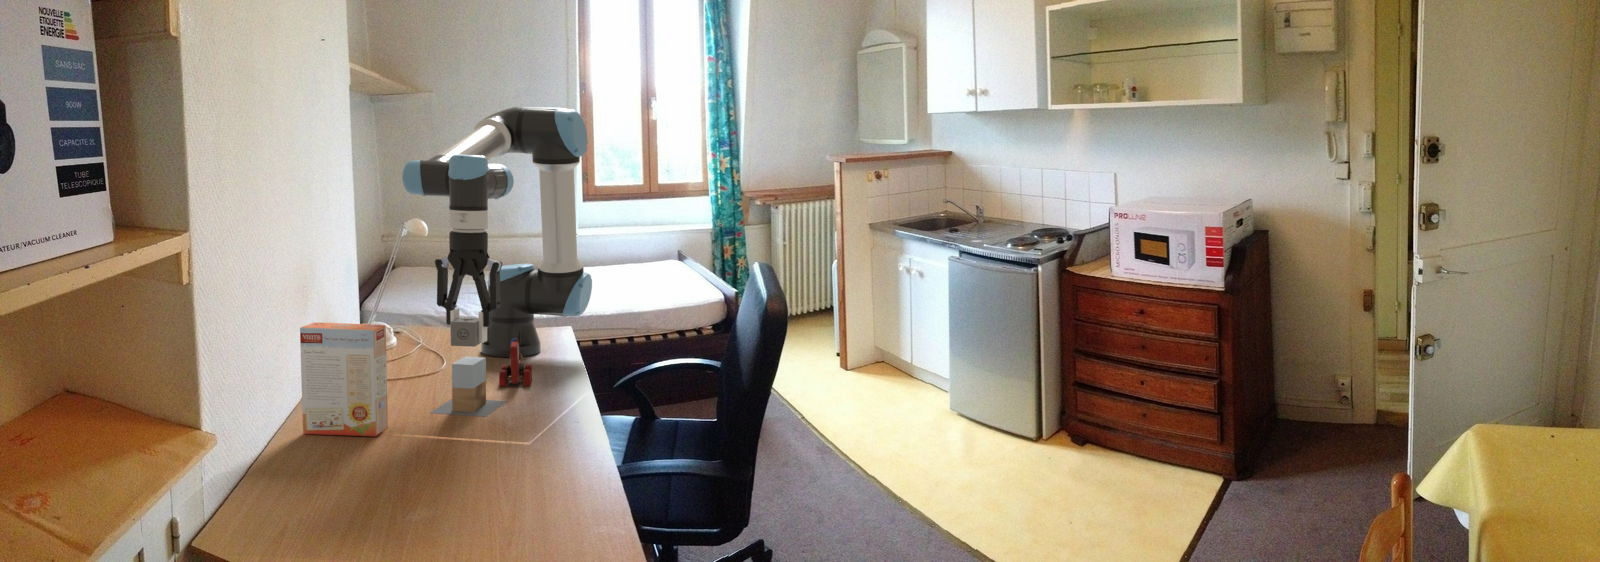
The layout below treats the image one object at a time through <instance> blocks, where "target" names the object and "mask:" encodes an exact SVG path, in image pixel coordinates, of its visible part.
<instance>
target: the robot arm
mask: <svg viewBox="0 0 1600 562" xmlns="http://www.w3.org/2000/svg"><path fill="white" fill-rule="evenodd" d="M587 150H588V131H587V127H586V122H585V121H584V119H583V117H582V116H581V114H580V113H579V112H578V111H577V110H575V109H569V108H563V107H545V106H544V107H541V106H540V107H538V106H537V107H536V106H535V107H534V106H532V107H531V106H512V107H510V108H506V109H502V110H500V111H497V112H495V113H493V114H489V116H486V117H485V118H483V119H482V120H480V121H478V122H477V123H476V125H475V126H474V128H473V130H472V131H471V132H469V133H467V134H466V135H465V136H463V137H461V138H460V139H459V140H457V141H455V142H454V143H453V144H450V145H449V146H448V147H446V148H444V149H443V150H442V151H439V152H438V153H437V154H435V155H433V156H432V157H431V158H429V159H427V160H424V159H416V160H415V159H414V160H413V159H411V160H409V161H407V162H406V164H405V165H404V167H403V170H402V175H401V176H402V184H403V186H404V189H405V190H406V192H408V194H410V195H415V196H416V195H417V196H423V197H444V198H445V197H447V198H449V201H448V202H449V206H448V207H449V209H448V210H449V211H448V213H449V215H448V217H449V218H448V219H449V221H448V222H449V224H448V225H449V226H448V227H449V228H450V229H451V231H450V232H449V237H448V238H449V239H448V240H449V241H448V242H449V243H448V244H449V252H448V255H447V257H440V258H436V259H435V260H434V265H435V267H436V270H437V274H436V276H437V277H436V279H437V280H436V305H437V307H442V308H443V309H445V312H446V313H445V315H446V316H445V318H446V319H445V321H446V325H447V326H450V331H451V321H453V320H455V319H457V318H460V308H457V307H458V305H457V303H458V299H459V295H460V291H461V288H462V284H463V281H464V279H465V276H471V277H472V280H473V281H474V283H475V288H476V293H477V295H478V298H479V299H478V300H479V302H480V306H481V310H480V311H479V312H478V318H479V343H480V346H481V347H480V348H481V353H482V354H483V355H486V356H490V357H498V358H500V357H501V358H509V356H510V347H511V344H510V342H511V340H512V339H514V338H516V339H518V340H519V343H520V344H519V352H520V353H521V355H522V357H528V356H533V355H536V354H538V353H540V352H541V344H542V343H541V341H540V337H539V334H538V331H537V328H536V325H535V315H540V316H542V315H543V316H557V317H563V318H566V317H567V318H568V317H579V316H581V315H583V314H584V313H585V311H586V309H587V307H588V305H589V303H590V299H591V296H592V289H593V279H592V275H591V274H590V273H588V272H585V271H584V263H582V262H581V261H580V260H579V259H578V249H577V247H578V245H577V216H576V194H575V193H576V189H575V187H576V186H575V167H577V166H578V165H579V164H580V162H581V160H580V159H581V157H583V156H585V155H586V152H587ZM510 153H512V154H513V153H514V154H527V155H528V154H529V155H531V157H532V164H534V165H535V166H536V167H537V168H538V171H539V174H538V175H539V191H540V192H539V194H540V195H539V196H540V216H541V219H540V220H541V239H542V240H541V241H542V257H543V260H541V262H539V264H538V265H537V269H536V267H535V265H534V264H533V263H518V264H517V263H516V264H508V265H503V261H501V260H498V261H497V260H495V259H491V258H490V255H489V251H488V249H489V248H488V247H489V243H488V242H489V241H488V240H489V237H488V236H489V235H488V233H489V232H487V231H486V230H488V228H489V221H488V220H489V218H488V217H489V215H488V214H489V213H488V212H489V209H488V206H489V204H488V201H489V200H492V199H495V200H499V199H500V198H503V197H505V196H507V195H508V194H509V193H510V192H511V191H512V189H513V187H514V182H515V181H514V176H513V173H512V171H511V170H510V168H508V167H507V166H506V165H503V164H501V163H496V162H495V163H494V162H490V163H488V162H489V161H490V160H492V158H498V157H501V156H504V155H505V154H510ZM450 265H451V267H452V268H453V272H452V273H453V274H452V276H451V277H452V279H451V283H450V288H449V291H448V285H449V284H448V283H449V266H450ZM487 265H488V270H489V272H488V281H487V282H488V283H487V282H486V279H485V278H486V274H485V272H484V269H485V268H486V266H487Z"/></svg>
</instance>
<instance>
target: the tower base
mask: <svg viewBox="0 0 1600 562" xmlns="http://www.w3.org/2000/svg"><path fill="white" fill-rule="evenodd" d="M451 399H452V411H464V412H474V411H475V410H477V409H478V408H480V407H481V406H483V405H484V404H486V400H487V380H486V381H484V382H483V383H481V384H480V385H478V386H476V387H475V388H473V389H470V388H454V387H452V386H451Z"/></svg>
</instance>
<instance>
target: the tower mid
mask: <svg viewBox="0 0 1600 562" xmlns="http://www.w3.org/2000/svg"><path fill="white" fill-rule="evenodd" d="M486 359H487V357H481V356H464V357H462V358H460V359H458V360H456V361H454V362H453V363H452V364H451V388H452V387H454V388H470V389H473V388H475V387H476V386H478V385H480V384H481V383H483V382H484V381H486V382H487V360H486Z"/></svg>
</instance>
